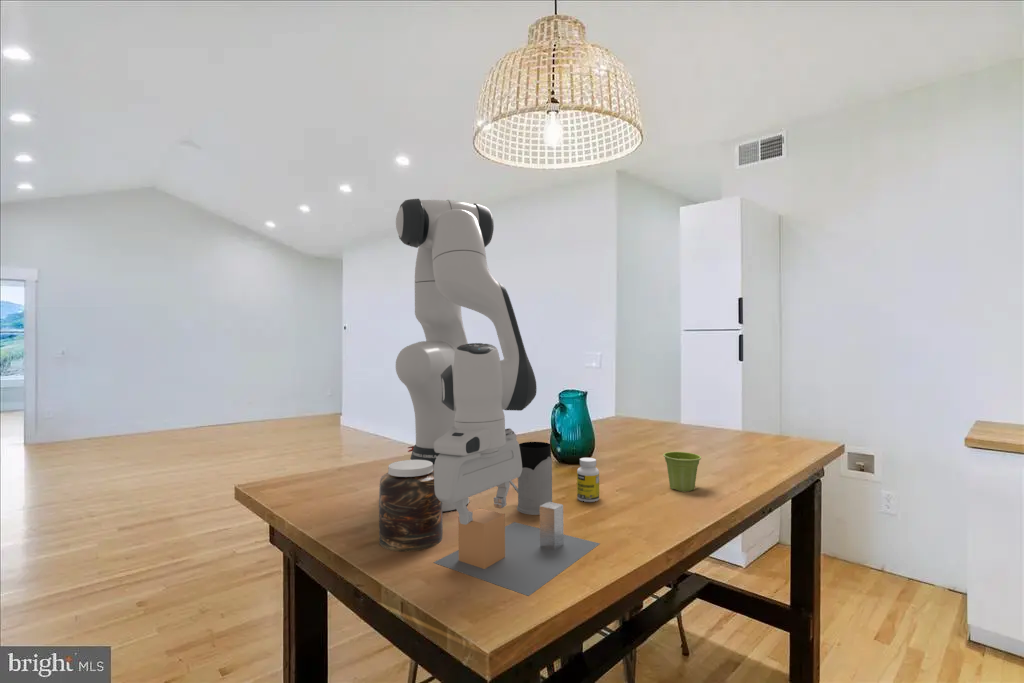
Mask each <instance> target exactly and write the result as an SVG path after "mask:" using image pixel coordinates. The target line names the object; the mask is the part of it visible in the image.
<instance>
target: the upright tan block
mask: <svg viewBox="0 0 1024 683" xmlns="http://www.w3.org/2000/svg"><path fill="white" fill-rule="evenodd" d="M471 512H473V516H472V518H473V521H472V522H470V523H469V524H466V525H465V524H461V523H460V522H459V516H458V525H457V526H458V527H457V528H458V550H459V561H462V562H465V563H468V564H471V565H474V566H477V567H480V568H483V569H485V568H487V567H489V566H491V565H492V564H494V563H496V562H498V561H499V560H501V559H503V558H504V557H505V526H506V517H505V516H506V515H505V513H502V512H496V511H493V510H489V509H485V508H480V507H479V508H477V509H474V510H472V511H471Z"/></svg>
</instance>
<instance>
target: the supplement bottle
mask: <svg viewBox="0 0 1024 683" xmlns="http://www.w3.org/2000/svg"><path fill="white" fill-rule="evenodd" d="M579 465H580V466H579V467H578V468H577V471H576V496H577V497H576V498H577V500H578V501H581V502H583V501H584V502H583V503H595V501H596V502H598V501H599V500H600V470H599V469H598V467H596V466H597V459H596V458H593V457H581V458H579Z"/></svg>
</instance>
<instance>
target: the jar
mask: <svg viewBox="0 0 1024 683" xmlns="http://www.w3.org/2000/svg"><path fill="white" fill-rule="evenodd" d="M378 487H379V492H378V495H379V496H378V499H379V500H378V501H379V503H378V513H379V515H378V519H379V520H378V524H379V527H378V529H379V531H378V532H379V535H378V536H379V545H380V546H381V547H382V548H383V549H385V550H388V551H393V552H414V551H421V550H426V549H429V548H432V547H434V546H436V545H438V544H439V543H440V542H442V540H443V511H442V502H441V501H439V500H438V498H437V497H436V495H435V488H434V470H433V463H432V462H431V461H427V460H411V459H405V460H399V461H398V460H397V461H394V462H391V463H390V464H388V471H387V473H385V474H383V475H382V476H381V477H380V479H379V486H378Z"/></svg>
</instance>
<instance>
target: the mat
mask: <svg viewBox="0 0 1024 683" xmlns="http://www.w3.org/2000/svg"><path fill="white" fill-rule="evenodd" d="M563 540H564V545H562V546H561V547H559V548H558V549H556V550H551V549H548V548H544V547H541V546H540V527H535V526H532V525H528V524H525V523H524V524H523V523H520V522H516V521H513V522H512V523H509V524H508V525H505V557H504V558H503V559H501V560H499V561H498V562H496V563H494V564H492V565H491V566H489V567H487V568H485V569H483V568H480V567H477V566H474V565H471V564H468V563H465V562H462V561H459V549H457V550H455V551H453V552H452V553H449V554H447V555H445V556H443V557H441V558H439V559H438V560H436V561H435V560H434V562H433V564H436V565H439V566H442V567H444V568H448V569H451V570H452V571H456V572H459V573H461V574H464V575H467V576H470V577H473V578H476V579H479V580H480V581H484V582H487V583H490V584H493V585H496V586H498V587H501V588H505V589H507V590H510V591H513V592H516V593H519V594H521V595H525V596H526V597H530V596H531V595H532V594H534V593H535V592H536V591H538V590H539V589H541V588H542V587H543V586H544V585H546V584H548V583H549V582H550V581H551V580H553V579H555V577H557V576H558V575H559V574H561V573H562V572H564V571H565V570H567V569H568V568H570V566H572V565H574V563H577V561H579V560H580V559H582V558H583V557H584V556H586V555H587V554H589V553H590V552H591V551H593V549H595V548H596V547H598V546H599V545H600V544H601V543H600V542H596V541H592V540H587V539H583V538H579V537H577V536H572V535H568V534H564V533H563Z"/></svg>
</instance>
